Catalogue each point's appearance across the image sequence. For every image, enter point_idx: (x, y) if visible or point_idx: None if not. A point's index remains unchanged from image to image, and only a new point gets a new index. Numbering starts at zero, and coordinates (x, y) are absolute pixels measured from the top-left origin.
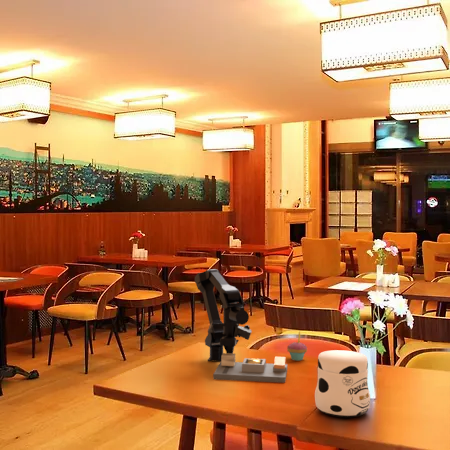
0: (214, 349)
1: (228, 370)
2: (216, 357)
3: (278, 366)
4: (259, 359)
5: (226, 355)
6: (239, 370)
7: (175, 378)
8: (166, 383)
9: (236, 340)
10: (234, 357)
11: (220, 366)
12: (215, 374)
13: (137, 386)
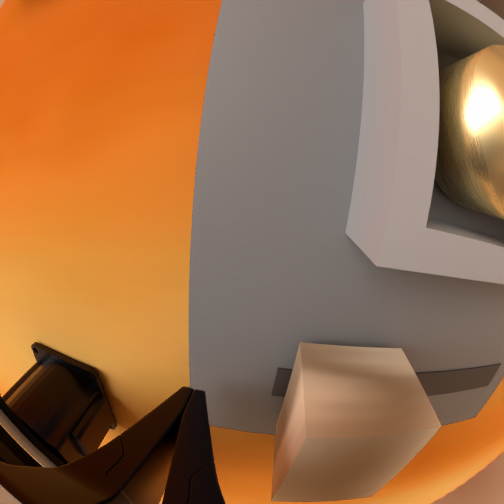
0: (77, 452)
1: (457, 366)
2: (101, 415)
3: None
4: (496, 47)
5: (380, 479)
6: (484, 286)
7: (392, 486)
8: (430, 481)
9: (18, 499)
10: (397, 410)
11: None
12: (481, 407)
13: (421, 501)
